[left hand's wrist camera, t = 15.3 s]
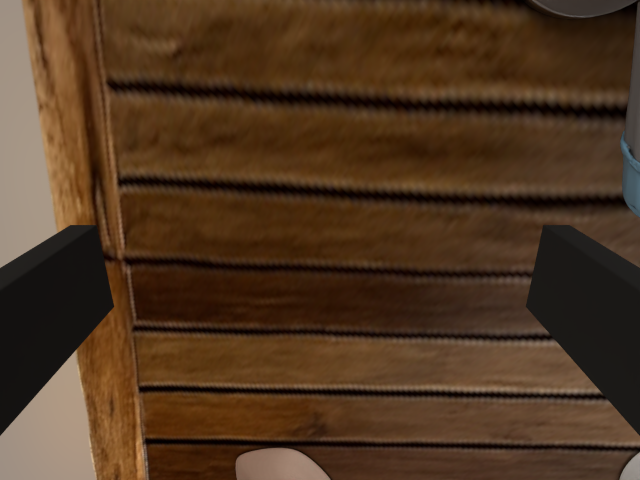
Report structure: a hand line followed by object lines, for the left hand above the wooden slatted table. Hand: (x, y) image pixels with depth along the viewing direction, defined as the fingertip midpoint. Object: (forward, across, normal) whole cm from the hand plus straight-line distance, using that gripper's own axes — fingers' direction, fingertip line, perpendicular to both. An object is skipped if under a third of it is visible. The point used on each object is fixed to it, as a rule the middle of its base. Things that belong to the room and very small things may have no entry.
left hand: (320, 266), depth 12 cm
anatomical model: (+28, -5, -45) cm, 53 cm away
